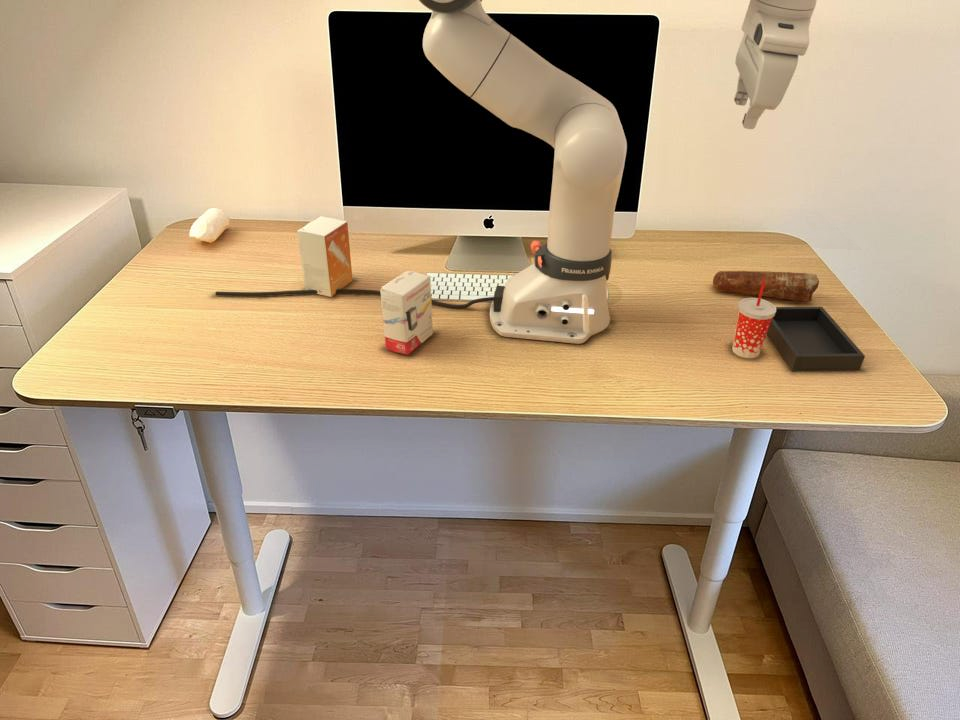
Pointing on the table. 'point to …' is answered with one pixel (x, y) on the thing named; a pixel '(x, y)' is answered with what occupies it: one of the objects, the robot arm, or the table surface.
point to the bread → (768, 284)
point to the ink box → (407, 311)
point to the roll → (209, 225)
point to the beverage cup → (752, 325)
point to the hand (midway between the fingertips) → (743, 115)
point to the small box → (325, 255)
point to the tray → (812, 341)
